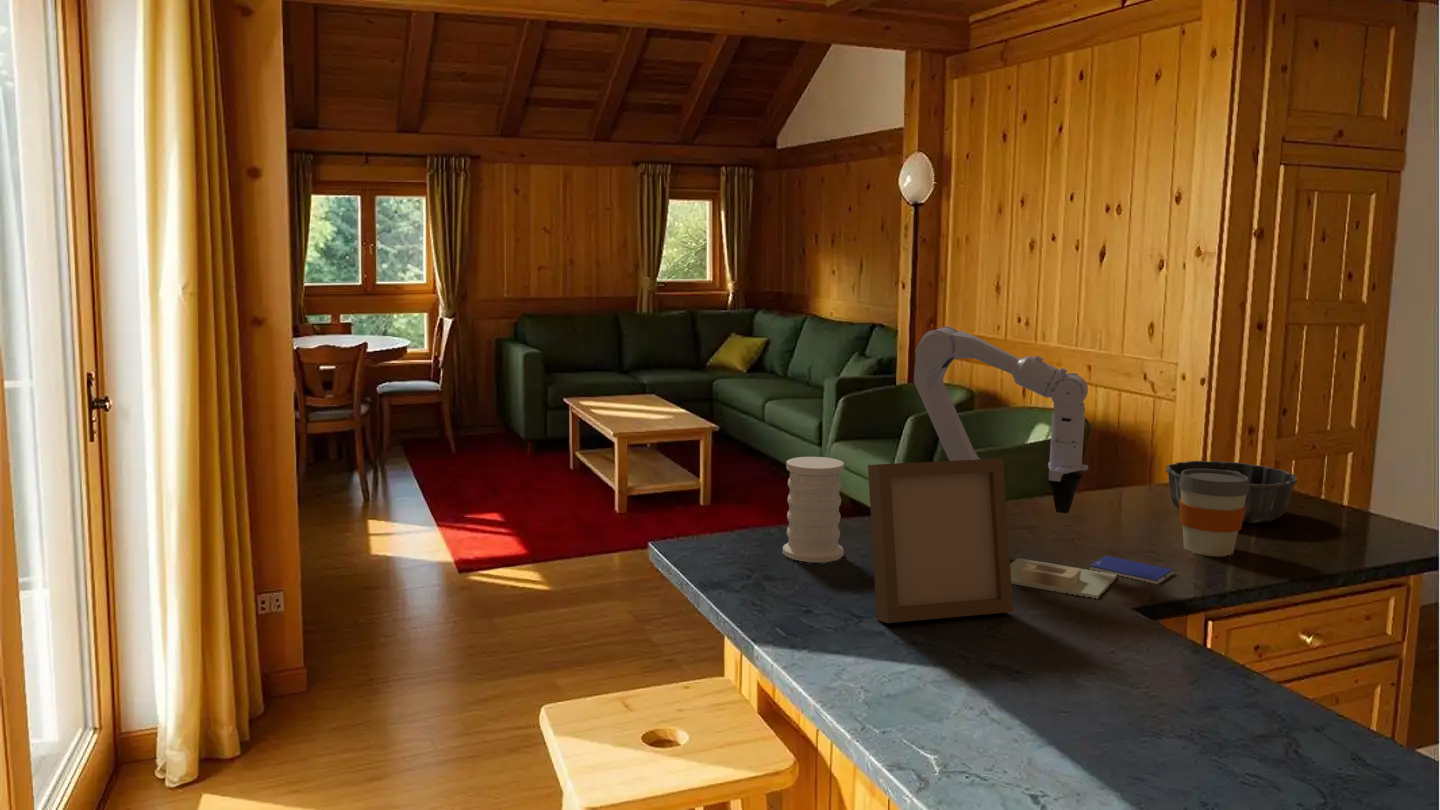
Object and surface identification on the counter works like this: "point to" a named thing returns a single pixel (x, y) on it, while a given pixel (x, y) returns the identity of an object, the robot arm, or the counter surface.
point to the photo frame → (940, 539)
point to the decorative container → (814, 509)
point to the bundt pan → (1265, 487)
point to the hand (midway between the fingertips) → (1062, 512)
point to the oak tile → (1050, 574)
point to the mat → (1087, 586)
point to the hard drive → (1131, 569)
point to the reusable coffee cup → (1212, 510)
